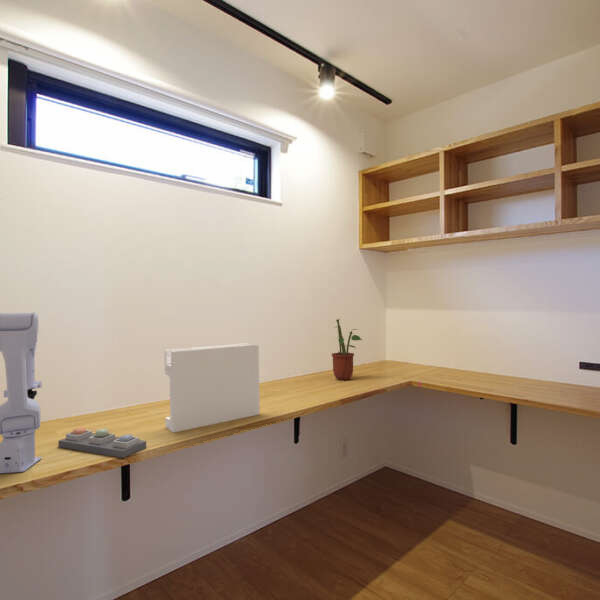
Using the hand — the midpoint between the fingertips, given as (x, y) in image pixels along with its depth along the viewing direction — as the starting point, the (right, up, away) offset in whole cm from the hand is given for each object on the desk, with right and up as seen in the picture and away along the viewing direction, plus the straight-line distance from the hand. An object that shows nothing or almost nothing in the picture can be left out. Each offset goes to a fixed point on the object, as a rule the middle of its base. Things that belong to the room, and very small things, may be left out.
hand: (23, 415), depth 124 cm
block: (+54, -10, +28) cm, 61 cm away
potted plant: (+114, -10, +108) cm, 157 cm away
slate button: (+34, -7, -4) cm, 35 cm away
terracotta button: (+15, -7, +4) cm, 17 cm away
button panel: (+24, -10, 0) cm, 26 cm away
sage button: (+24, -6, 0) cm, 25 cm away
